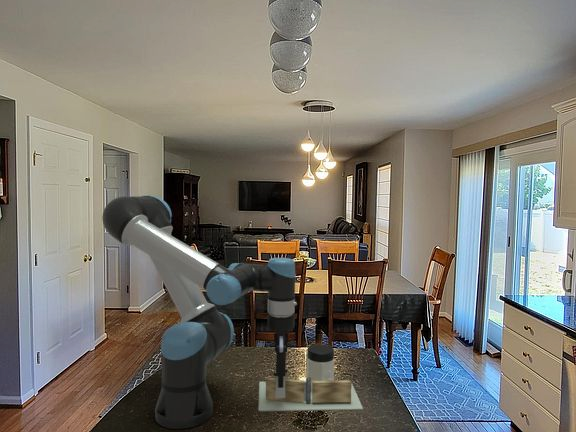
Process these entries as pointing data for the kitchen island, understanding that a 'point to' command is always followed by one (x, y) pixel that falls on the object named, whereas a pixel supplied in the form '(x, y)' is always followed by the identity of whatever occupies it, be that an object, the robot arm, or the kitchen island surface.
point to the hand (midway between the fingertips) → (280, 397)
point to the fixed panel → (331, 391)
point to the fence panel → (286, 390)
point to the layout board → (302, 406)
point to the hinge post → (308, 390)
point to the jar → (320, 363)
